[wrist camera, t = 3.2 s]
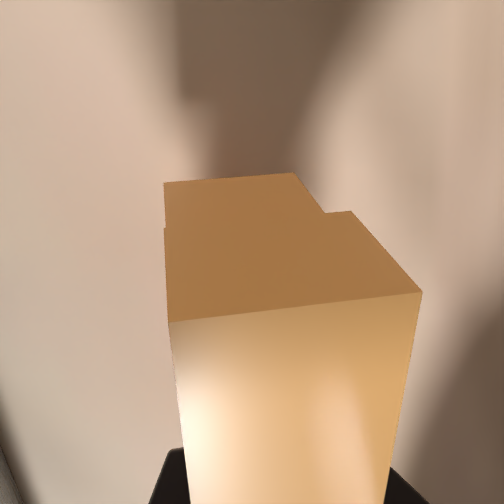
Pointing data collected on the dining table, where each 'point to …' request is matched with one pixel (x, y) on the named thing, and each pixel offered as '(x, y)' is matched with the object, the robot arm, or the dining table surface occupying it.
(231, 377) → the long orange beam
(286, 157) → the dining table surface
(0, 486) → the grey slotted plate
